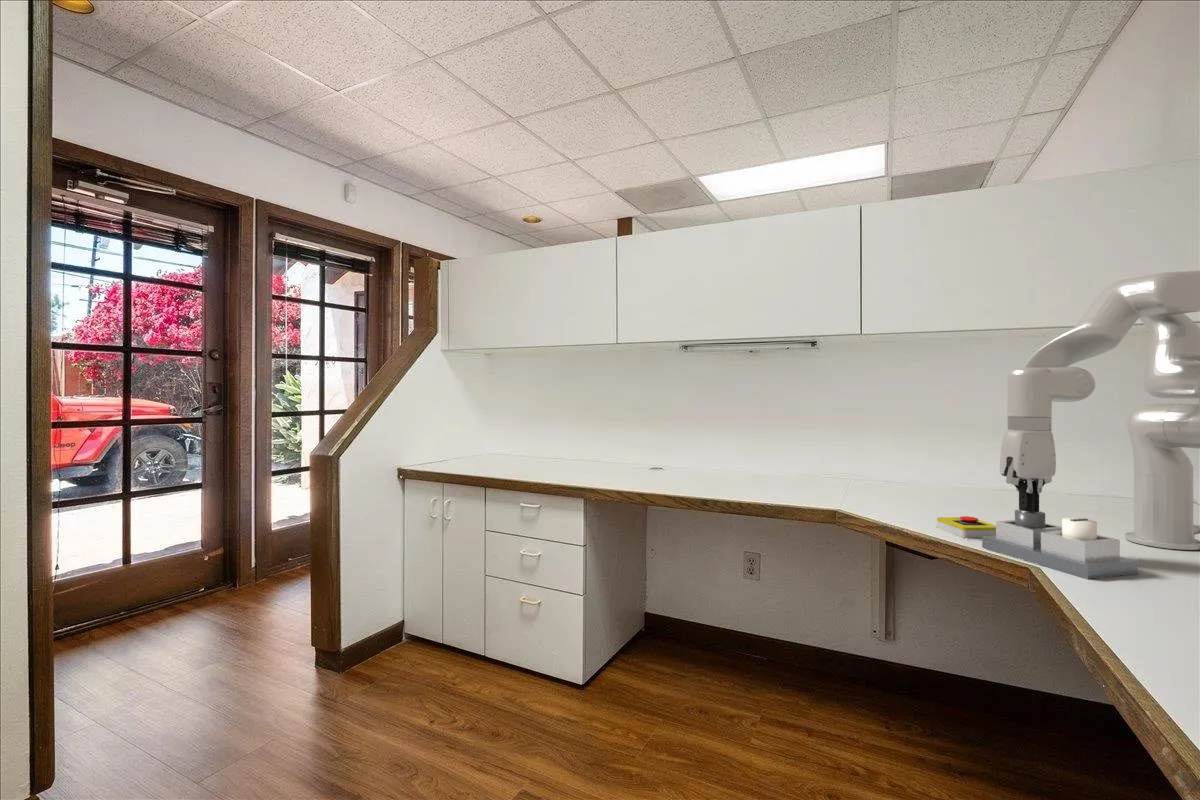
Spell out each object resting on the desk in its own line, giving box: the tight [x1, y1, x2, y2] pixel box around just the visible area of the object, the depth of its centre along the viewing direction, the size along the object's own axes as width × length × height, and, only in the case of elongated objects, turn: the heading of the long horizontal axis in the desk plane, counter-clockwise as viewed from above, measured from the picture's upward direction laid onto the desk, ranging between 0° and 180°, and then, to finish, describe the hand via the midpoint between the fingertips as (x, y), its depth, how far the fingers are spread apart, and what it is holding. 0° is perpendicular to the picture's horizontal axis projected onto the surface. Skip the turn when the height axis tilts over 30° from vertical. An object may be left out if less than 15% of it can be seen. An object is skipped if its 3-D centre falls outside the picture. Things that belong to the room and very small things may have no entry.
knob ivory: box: [1061, 517, 1098, 541], centre depth 110 cm, size 5×5×6 cm
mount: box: [981, 519, 1139, 580], centre depth 114 cm, size 12×22×6 cm, turn 12°
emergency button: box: [935, 515, 996, 541], centre depth 138 cm, size 9×4×15 cm
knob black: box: [1014, 509, 1046, 529], centre depth 119 cm, size 5×5×6 cm
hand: (1028, 510), depth 119 cm, fingers closed
